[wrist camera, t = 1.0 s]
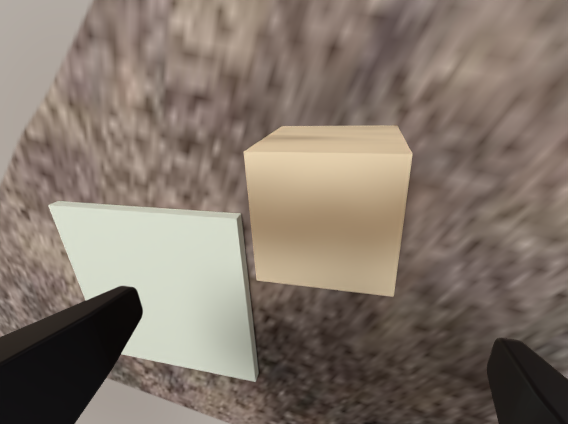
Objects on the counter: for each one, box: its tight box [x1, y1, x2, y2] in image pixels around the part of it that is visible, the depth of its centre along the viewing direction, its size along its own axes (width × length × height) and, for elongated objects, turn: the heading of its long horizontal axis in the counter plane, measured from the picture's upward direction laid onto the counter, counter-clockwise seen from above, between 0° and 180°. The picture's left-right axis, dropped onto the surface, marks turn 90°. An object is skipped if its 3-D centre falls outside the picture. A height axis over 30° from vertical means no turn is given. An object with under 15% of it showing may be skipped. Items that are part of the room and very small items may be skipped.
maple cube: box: [244, 126, 412, 297], centre depth 15 cm, size 6×6×6 cm
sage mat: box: [48, 201, 259, 382], centre depth 24 cm, size 15×15×1 cm
